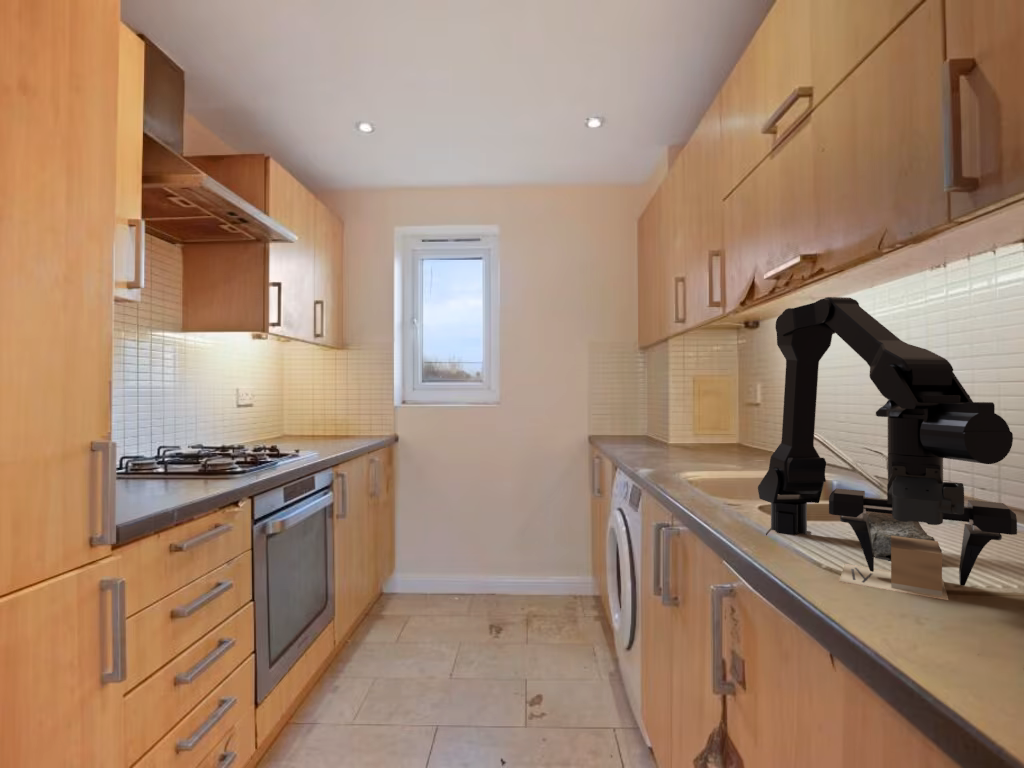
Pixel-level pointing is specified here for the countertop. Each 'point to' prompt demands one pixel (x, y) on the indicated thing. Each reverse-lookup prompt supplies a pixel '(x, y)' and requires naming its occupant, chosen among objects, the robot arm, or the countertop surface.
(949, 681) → the countertop surface
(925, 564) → the block
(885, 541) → the rock
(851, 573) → the birch board
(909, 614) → the countertop surface
